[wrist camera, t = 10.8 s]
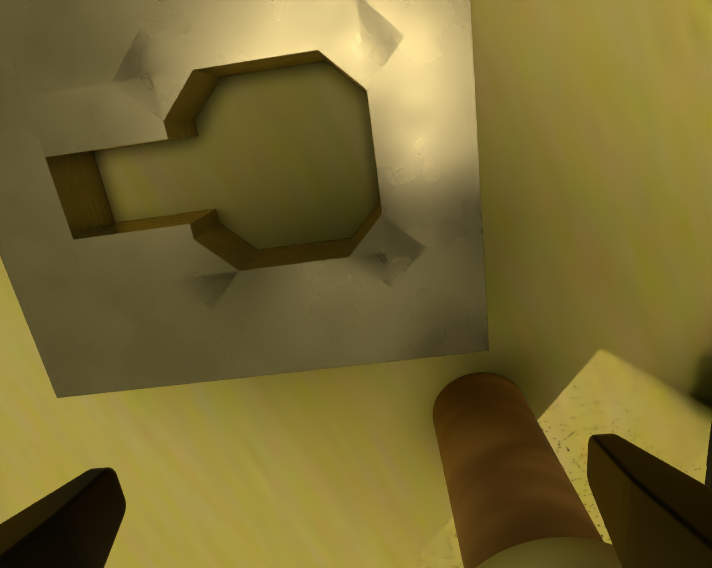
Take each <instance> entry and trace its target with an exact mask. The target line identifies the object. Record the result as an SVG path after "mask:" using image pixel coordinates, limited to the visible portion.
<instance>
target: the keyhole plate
mask: <svg viewBox="0 0 712 568" xmlns="http://www.w3.org/2000/svg"><path fill="white" fill-rule="evenodd" d="M320 61H327V62H329V63H330V64H331V65H332V66H334V67H335V68H336V69H337V70H338V71H340V72H341V73H342V74H343V75H345V76H346V77H347V78H348V79H349V80H351V81H352V82H353V83H354V84H356V85H357V86H358V87H359V88H361V89H362V90H363V91H364V92H365V93H367V94H368V102H369V110H370V118H371V126H372V134H373V143H374V151H375V159H376V167H377V175H378V183H379V191H380V199H381V201H380V202H379V203H378V205H377V206H376V207H375V209H374V210H373V211H372V213H371V214H370V215H369V216H368V218H367V219H366V220H365V222H364V223H363V224H362V225H361V227H360V228H359V229H358V231H357V232H356V233H355V235H354V236H353V237H352V238H346V239H338V240H331V241H323V242H315V243H308V244H300V245H292V246H284V247H277V248H269V249H261V250H257V249H255V248H254V247H252V246H251V245H250V244H248V243H247V242H245V241H244V240H243V239H241V238H240V237H238V236H237V235H235V234H234V233H233V232H231V231H230V230H228V229H227V228H226V227H224V226H223V225H221V224H220V223H219V222H218V218H217V214H216V210H215V209H212V210H205V211H198V212H190V213H183V214H176V215H169V216H161V217H154V218H147V219H139V220H132V221H125V222H118V223H114V220H113V216H112V213H111V210H110V207H109V204H108V200H107V197H106V194H105V191H104V187H103V184H102V181H101V178H100V175H99V171H98V168H97V165H96V162H95V158H94V155H93V151H100V150H107V149H113V148H120V147H127V146H133V145H140V144H147V143H153V142H160V141H167V140H174V139H180V138H187V137H194V136H198V134H197V130H196V126H195V121H194V120H195V119H196V117H197V115H198V114H199V112H200V110H201V109H202V107H203V105H204V104H205V102H206V100H207V99H208V97H209V95H210V94H211V92H212V90H213V89H214V87H215V85H216V84H217V82H218V80H219V79H220V77H225V76H231V75H238V74H244V73H250V72H256V71H263V70H269V69H275V68H282V67H288V66H294V65H301V64H307V63H313V62H320ZM0 256H1V259H2V261H3V264H4V266H5V269H6V271H7V274H8V276H9V279H10V281H11V284H12V286H13V289H14V291H15V294H16V296H17V299H18V301H19V304H20V306H21V309H22V311H23V314H24V316H25V319H26V321H27V324H28V326H29V329H30V331H31V334H32V336H33V339H34V341H35V344H36V346H37V349H38V351H39V354H40V356H41V359H42V361H43V364H44V366H45V369H46V371H47V374H48V376H49V379H50V381H51V384H52V386H53V389H54V391H55V394H56V396H57V398H61V397H71V396H80V395H89V394H98V393H107V392H116V391H125V390H134V389H143V388H152V387H162V386H171V385H180V384H189V383H198V382H207V381H216V380H225V379H234V378H244V377H253V376H262V375H271V374H280V373H289V372H298V371H307V370H316V369H326V368H335V367H344V366H353V365H362V364H371V363H380V362H389V361H398V360H408V359H417V358H426V357H435V356H444V355H453V354H462V353H471V352H480V351H489V342H488V323H487V304H486V286H485V267H484V249H483V230H482V212H481V193H480V175H479V156H478V138H477V119H476V101H475V82H474V64H473V45H472V27H471V8H470V0H0Z"/></svg>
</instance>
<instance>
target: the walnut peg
mask: <svg viewBox="0 0 712 568" xmlns="http://www.w3.org/2000/svg"><path fill="white" fill-rule="evenodd" d="M433 421H434V426H435V431H436V436H437V440H438V445H439V450H440V455H441V460H442V464H443V469H444V474H445V479H446V484H447V489H448V493H449V498H450V503H451V508H452V513H453V517H454V522H455V527H456V532H457V537H458V542H459V546H460V551H461V556H462V561H463V566H464V568H622V566H621V563H620V561H619V559H618V556H617V554H616V551H615V549H614V546H613V545H612V544H609V543H605V542H604V541H603V540H602V538H601V536H600V534H599V532H598V531H597V529H596V527H595V525H594V523H593V521H592V520H591V518H590V516H589V514H588V512H587V511H586V509H585V507H584V505H583V503H582V501H581V500H580V498H579V496H578V494H577V492H576V491H575V489H574V487H573V485H572V483H571V482H570V480H569V478H568V476H567V474H566V472H565V471H564V469H563V467H562V465H561V463H560V462H559V460H558V458H557V456H556V454H555V452H554V451H553V449H552V447H551V445H550V443H549V442H548V440H547V438H546V436H545V434H544V432H543V431H542V429H541V427H540V425H539V423H538V422H537V420H536V418H535V416H534V414H533V413H532V411H531V409H530V407H529V405H528V403H527V402H526V400H525V398H524V396H523V394H522V393H521V391H520V390H519V388H518V387H517V386H516V385H515V384H514V383H513V382H511V381H510V380H508V379H507V378H505V377H502V376H500V375H497V374H492V373H473V374H468V375H465V376H462V377H460V378H458V379H456V380H454V381H452V382H451V383H450V384H448V385H447V386H446V387H445V388H444V389H443V390H442V391H441V393H440V394H439V396H438V397H437V399H436V401H435V404H434V408H433Z"/></svg>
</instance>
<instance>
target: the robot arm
mask: <svg viewBox="0 0 712 568" xmlns="http://www.w3.org/2000/svg"><path fill="white" fill-rule="evenodd" d="M706 465H707V470H706V478H705V485H704V484H702V483H701V482H699V481H697V480H695V479H694V478H692V477H690V476H688V475H687V474H685V473H683V472H681V471H680V470H678V469H676V468H674V467H673V466H671V465H669V464H667V463H665V462H664V461H662V460H660V459H658V458H657V457H655V456H653V455H651V454H650V453H648V452H646V451H644V450H643V449H641V448H639V447H637V446H636V445H634V444H632V443H630V442H629V441H627V440H625V439H623V438H621V437H620V436H618V435H616V434H597V435H592V436H591V437H590V438H589V442H588V460H587V478H588V482H589V486H590V488H591V491H592V493H593V496H594V499H595V501H596V504H597V506H598V509H599V511H600V514H601V516H602V519H603V521H604V524H605V526H606V529H607V531H608V534H609V536H610V539H611V541H612V544H613V546H614V549H615V551H616V554H617V556H618V559H619V561H620V563H621V566H622V568H712V423H711V431H710V439H709V447H708V455H707V464H706ZM125 509H126V501H125V497H124V494H123V491H122V489H121V486H120V483H119V480H118V477H117V474H116V472H115V471H114V470H113V469H112V468H109V467H108V468H94V469H90V470H88V471H86V472H84V473H83V474H81V475H80V476H78V477H76V478H75V479H73V480H71V481H70V482H68V483H67V484H65V485H63V486H62V487H60V488H58V489H57V490H55V491H54V492H52V493H50V494H49V495H47V496H45V497H44V498H42V499H41V500H39V501H37V502H36V503H34V504H32V505H31V506H29V507H27V508H26V509H24V510H23V511H21V512H19V513H18V514H16V515H14V516H13V517H11V518H10V519H8V520H6V521H5V522H3V523H1V524H0V568H104V566H105V564H106V561H107V558H108V556H109V553H110V551H111V548H112V545H113V543H114V540H115V538H116V535H117V532H118V530H119V527H120V525H121V522H122V519H123V517H124V514H125Z"/></svg>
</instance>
